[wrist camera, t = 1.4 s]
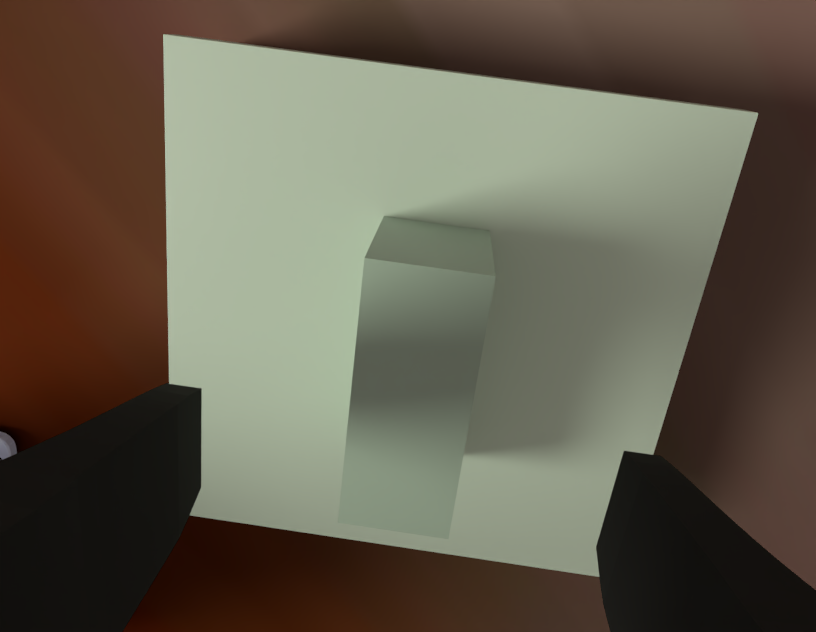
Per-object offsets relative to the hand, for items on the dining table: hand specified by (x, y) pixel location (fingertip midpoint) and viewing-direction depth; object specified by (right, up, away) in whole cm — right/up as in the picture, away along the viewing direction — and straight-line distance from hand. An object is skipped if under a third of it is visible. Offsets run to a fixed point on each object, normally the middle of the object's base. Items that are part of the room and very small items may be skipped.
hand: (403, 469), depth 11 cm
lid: (0, +2, +6) cm, 6 cm away
